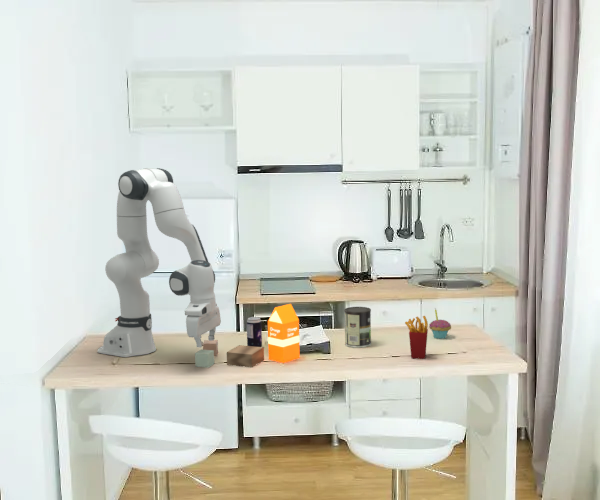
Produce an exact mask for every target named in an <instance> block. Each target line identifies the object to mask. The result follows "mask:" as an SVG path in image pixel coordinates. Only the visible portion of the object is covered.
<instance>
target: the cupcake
mask: <svg viewBox="0 0 600 500" xmlns="http://www.w3.org/2000/svg"><path fill="white" fill-rule="evenodd" d="M437 311H438V310H437V308H434V313H435V320H432V321H431V322H430V323H429V324H428V326H429V329H430V330H431V332H432V335H433V338H434V339H437V340H442V339H443V340H444V339H446V338H447V335H448V332H449V331H451V329H452V325H451V323H450V322H449V321H447V320H445V319H439V318H438V317H439V316H438V312H437Z"/></svg>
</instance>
